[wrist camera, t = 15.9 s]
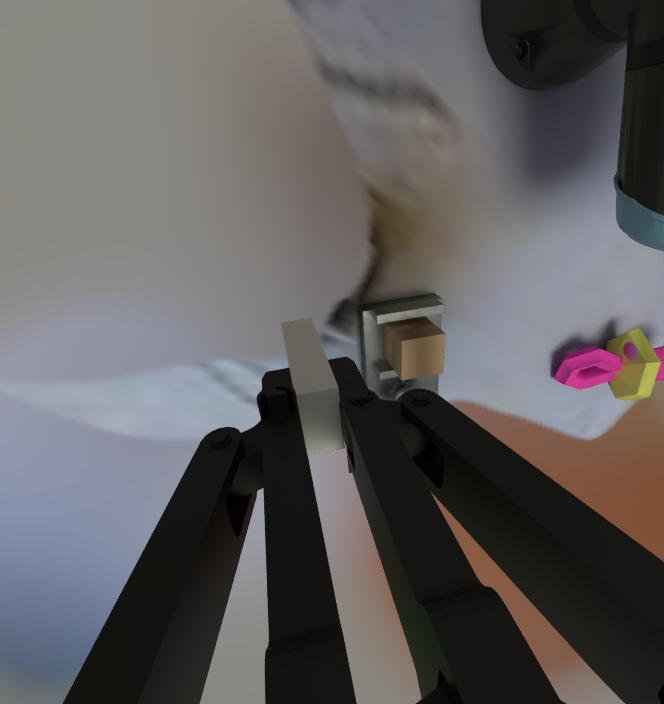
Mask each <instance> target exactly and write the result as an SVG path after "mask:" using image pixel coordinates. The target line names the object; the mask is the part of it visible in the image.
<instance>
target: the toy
mask: <svg viewBox="0 0 664 704" xmlns="http://www.w3.org/2000/svg"><path fill="white" fill-rule="evenodd" d="M592 366H593V367H592ZM589 367H590V368H589ZM586 368H587V369H586ZM583 369H584V370H583ZM580 370H581V371H580ZM554 379H555V380H557V381H559V382H561V383H562V384H565V385H568V386H571V387H574V388H578V389H585V388H588V387H591V386H595V385H598V384H601V383H605V382H608V384H609V386H610V388H611V390H612V392H613V394H614V396H615V398H617V399H620V400H624V401H626V400H633V399H640V398H647V397H650V394H651V391H652V388H653V385H654V382H655V380H659V381H664V346H662V347H658V348H654V349H653V348H652V347H651V345H650V344H649V342H648V340H647V339H646V337H645V336H644V334H643V332H642V331H641V329H640V328H637V329H635V330H632V331H630V332H627V333H625V334H623V335H620V336H618V337H616V338H613V339H611V340H609V341H608V342H607V346H606V350H603V349H600V348H598V347H595V346H590V347H587V348H584V349H581V350H579V351H576V352H573V353H570V354H567V355H565V357H564V359H563V361H562V362H561V364H560V366H559V368H558V370H557V372H556V374H555V377H554Z"/></svg>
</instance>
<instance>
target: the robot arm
mask: <svg viewBox="0 0 664 704" xmlns="http://www.w3.org/2000/svg"><path fill="white" fill-rule="evenodd" d="M482 20H483V28H484V34H485V38H486V42H487V46H488V49H489V51H490V54H491V56H492V58H493V60H494V62H495V64H496V65H497V67H498V68H499V70H500V71H501V72H502V73H503V74H504V75H505V76H506V77H507V78H508V79H509V80H510V81H512V82H513V83H515V84H517V85H518V86H521V87H523V88H527V89H531V90H545V89H550V88H554V87H558V86H561V85H565V84H568V83H571V82H573V81H576V80H578V79H580V78H581V77H583V76H585V75H587V74H588V73H590V72H591V71H593V70H594V69H595V68H597V67H598V66H599V65H601V64H602V63H603V62H605V61H606V60H607V59H609V58H610V57H611V56H613V55H614V54H615V53H616V52H618V51H619V50H620V49H622V48H623V47H624V46H626V45H627V59H626V69H625V81H624V95H623V107H622V118H621V129H620V140H619V152H618V163H617V172H616V175H615V177H614V187H615V190H616V220H617V223H618V225H619V227H620V229H621V230H622V231H623V232H625V233H626V234H627V235H628V236H629V237H630V238H631V239H632V240H634V241H636V242H638V243H640V244H642V245H645V246H648V247H651V248H654V249H657V250H661V251H664V0H482ZM281 324H282V329H283V335H284V341H285V346H286V352H287V358H288V364H289V368H285V369H280V370H274V371H269V372H266V373H265V375H264V376H263V378H262V391H261V392H260V393H259V394H258V395H257V398H256V399H257V404H258V408H259V412H260V416H261V421H260V422H259V423H258V424H257V425H255V426H254V427H253V428H251V429H249V430H247V431H244V432H242V433H240V431H239V430H238V429H236V428H233V427H224V428H219V429H216V430H214V431H212V432H210V433H209V434H207V435H206V436H205V437H204V438H203V439H202V441H201V442H200V444H199V446H198V448H197V450H196V452H195V454H194V456H193V458H192V459H191V461H190V463H189V465H188V467H187V469H186V471H185V473H184V475H183V476H182V478H181V480H180V482H179V484H178V486H177V488H176V490H175V492H174V494H173V496H172V498H171V499H170V501H169V503H168V505H167V507H166V509H165V511H164V513H163V514H162V516H161V518H160V520H159V522H158V524H157V526H156V528H155V530H154V531H153V534H152V535H151V537H150V539H149V541H148V543H147V545H146V547H145V549H144V551H143V552H142V554H141V556H140V558H139V560H138V562H137V564H136V566H135V568H134V569H133V571H132V573H131V575H130V577H129V579H128V581H127V583H126V585H125V586H124V588H123V590H122V592H121V594H120V596H119V598H118V600H117V602H116V604H115V605H114V607H113V609H112V611H111V613H110V615H109V617H108V619H107V621H106V623H105V625H104V626H103V628H102V630H101V632H100V634H99V636H98V638H97V640H96V641H95V643H94V645H93V647H92V649H91V651H90V653H89V655H88V657H87V659H86V660H85V663H84V664H83V666H82V668H81V670H80V672H79V674H78V676H77V677H76V679H75V681H74V683H73V685H72V687H71V689H70V691H69V693H68V695H67V696H66V698H65V700H64V702H63V704H199V703H200V700H201V696H202V693H203V689H204V685H205V682H206V678H207V674H208V671H209V667H210V664H211V660H212V657H213V653H214V649H215V646H216V642H217V638H218V634H219V631H220V627H221V624H222V620H223V617H224V613H225V609H226V606H227V602H228V599H229V595H230V591H231V588H232V584H233V581H234V577H235V573H236V570H237V566H238V562H239V559H240V555H241V552H242V548H243V544H244V541H245V537H246V533H247V529H248V526H249V523H250V519H251V515H252V512H253V508H254V504H255V501H256V497H257V491H258V490H260V489H262V488H264V514H265V540H266V566H267V596H268V623H269V645H268V647H267V649H266V654H265V700H266V704H357V703H356V698H355V693H354V688H353V683H352V678H351V672H350V668H349V662H348V657H347V652H346V647H345V642H344V637H343V632H342V628H341V624H340V619H339V614H338V609H337V604H336V599H335V594H334V589H333V584H332V578H331V573H330V568H329V563H328V558H327V552H326V547H325V542H324V537H323V532H322V527H321V522H320V517H319V512H318V507H317V501H316V496H315V491H314V486H313V481H312V476H311V470H310V465H309V460H308V456H310V455H314V454H320V453H324V452H329V451H334V450H338V449H342V448H345V445H344V441H345V444H346V447H347V458H348V467H349V473H353V476H354V479H355V483H356V486H357V489H358V492H359V495H360V498H361V501H362V504H363V507H364V510H365V513H366V517H367V520H368V523H369V526H370V529H371V532H372V535H373V538H374V541H375V544H376V547H377V550H378V554H379V557H380V560H381V563H382V566H383V569H384V572H385V575H386V578H387V581H388V585H389V587H390V591H391V594H392V597H393V600H394V603H395V606H396V609H397V612H398V615H399V619H400V622H401V625H402V628H403V631H404V634H405V637H406V640H407V643H408V646H409V649H410V653H411V656H412V659H413V662H414V665H415V669H416V673H417V677H418V683H419V688H420V692H421V697H422V699H421V700H420V701H419V702H418V703H416V704H566V703H564V702H563V701H561V700H560V699H559V697H558V695H557V694H556V692H555V690H554V688H553V687H552V685H551V683H550V681H549V680H548V678H547V676H546V674H545V673H544V671H543V669H542V668H541V666H540V664H539V662H538V661H537V659H536V657H535V655H534V654H533V652H532V650H531V649H530V647H529V645H528V643H527V641H526V640H525V638H524V636H523V635H522V633H521V631H520V629H519V628H518V626H517V624H516V622H515V621H514V619H513V617H512V615H511V614H510V612H509V610H508V609H507V607H506V605H505V604H504V602H503V601H502V599H501V598H500V596H499V595H498V593H497V592H496V591H495V590H494V589H493V588H491V587H487V586H483V584H482V583H481V582H480V581H479V579H478V578H477V577H476V574H475V573H474V571H473V569H472V567H471V565H470V563H469V562H468V560H467V558H466V556H465V554H464V552H463V551H462V549H461V547H460V545H459V543H458V541H457V540H456V538H455V536H454V534H453V532H452V530H451V529H450V527H449V525H448V523H447V521H446V519H445V518H444V516H443V514H442V512H441V510H440V509H439V507H438V505H437V503H436V501H435V499H434V498H433V496H432V494H431V492H432V493H433V495H435V497H436V498H437V499H438V500H439V501H440V502H441V503H442V505H443V506H444V507H445V508H446V509H447V510H448V511H449V512H450V513H451V514H452V516H453V517H454V518H455V519H456V520H457V521H458V522H459V523H460V524H461V525H462V527H463V528H464V529H465V530H466V531H467V532H468V533H469V534H470V535H471V537H472V538H473V539H474V540H475V541H476V542H477V543H478V544H479V545H480V546H481V547H482V549H483V550H484V551H485V552H486V553H487V554H488V555H489V556H490V557H491V559H492V560H493V561H494V562H495V563H496V564H497V565H498V566H499V567H500V568H501V570H502V571H503V572H504V573H505V574H506V575H507V576H508V577H509V578H510V579H511V581H512V582H513V583H514V584H515V585H516V586H517V587H518V588H519V589H520V591H521V592H522V593H523V594H524V595H525V596H526V597H527V598H528V599H529V601H530V602H531V603H532V604H533V605H534V606H535V607H536V608H537V609H538V610H539V612H540V613H541V614H542V615H543V616H544V617H545V618H546V619H547V620H548V621H549V623H550V624H551V625H552V626H553V627H554V628H555V629H556V630H557V631H558V632H559V634H560V635H561V636H562V637H563V638H564V639H565V640H566V641H567V642H568V644H569V645H570V646H571V647H572V648H573V649H574V650H575V651H576V652H577V653H578V654H579V656H581V658H582V659H583V660H584V661H585V662H586V663H587V664H588V666H589V667H590V668H591V669H592V670H593V671H594V672H595V673H596V674H597V675H598V676H599V677H600V678H601V679H602V680H603V681H604V682H605V684H606V685H607V686H608V687H609V688H610V689H611V690H612V691H613V692H614V693H615V694H616V695H617V696H618V697H619V698H620V699H621V700H622V701H623V702H624V703H626V704H664V562H663V561H662V560H660V559H659V558H658V557H656V556H655V555H654V554H652V553H651V552H649V551H648V550H647V549H646V548H644V547H643V546H642V545H640V544H639V543H637V542H636V541H635V540H633V539H632V538H631V537H629V536H628V535H627V534H625V533H624V532H623V531H621V530H620V529H619V528H617V527H616V526H614V525H613V524H612V523H610V522H609V521H608V520H606V519H605V518H604V517H602V516H601V515H599V514H598V513H597V512H596V511H594V510H593V509H592V508H590V507H589V506H587V505H586V504H585V503H583V502H582V501H581V500H579V499H578V498H577V497H575V496H574V495H573V494H571V493H570V492H569V491H567V490H566V489H565V488H563V487H562V486H560V485H559V484H558V483H556V482H555V481H554V480H552V479H551V478H550V477H548V476H547V475H545V474H544V473H543V472H542V471H540V470H539V469H537V468H536V467H535V466H533V465H532V464H531V463H529V462H528V461H526V460H525V459H524V458H523V457H521V456H520V455H519V454H517V453H516V452H515V451H513V450H512V449H510V448H509V447H508V446H506V445H505V444H504V443H502V442H501V441H500V440H498V439H497V438H495V437H494V436H493V435H492V434H490V433H489V432H488V431H486V430H485V429H484V428H482V427H481V426H479V425H478V424H477V423H475V422H474V421H473V420H471V419H470V418H469V417H467V416H466V415H465V414H463V413H462V412H461V411H459V410H458V409H456V408H455V407H454V406H452V405H451V404H450V403H448V402H447V401H446V400H444V399H443V398H442V397H440V396H439V395H438V394H436V393H434V392H433V391H431V390H427V389H412V390H408V391H406V392H405V393H404V394H403V395H402V396H401V401H391V400H383V399H379V397H378V395H377V394H376V393H375V392H374V391H371V390H369V389H368V387H367V385H366V383H365V381H364V379H363V377H362V376H361V374H360V372H359V370H358V369H357V366H356V364H355V362H354V361H353V360H351V359H350V358H348V357H342V358H336V359H330V360H327V357H326V354H325V352H324V349H323V347H322V344H321V342H320V339H319V337H318V334H317V332H316V329H315V326H314V324H313V321H312V319H311V318H308V319H302V320H295V321H289V322H283V323H281ZM430 491H431V492H430Z"/></svg>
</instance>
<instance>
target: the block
mask: <svg viewBox="0 0 664 704" xmlns="http://www.w3.org/2000/svg"><path fill="white" fill-rule="evenodd" d="M445 335H446V334H445V333H444V332H443V331H442V330H441V329H440V328H438V327H437V326H436V325H435V324H434V323H433V322H431V321H430V320H429V319H428V318H427V317H425V316H422V317H416V318H410V319H404V320H398V321H392V322H386V323H384V346H385V358H386V359H387V361H388V362H389V363H390V365H391V366H392V368H393V369H394V371H395V372H396V373H397V375H398V376H399V378H400V379H401V380H408V379H413V378H419V377H424V376H430V375H435V374H441V373H443V366H444V351H445Z"/></svg>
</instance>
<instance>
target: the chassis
mask: <svg viewBox="0 0 664 704" xmlns="http://www.w3.org/2000/svg"><path fill="white" fill-rule="evenodd" d="M442 313H444V304H442V298H441V297H439V296H438V295H436V294H430V295H424V296H418V297H411V298H405V299H399V300H393V301H387V302H381V303H375V304H368V305H362V306H359V319H360V335H361V350H362V365H363V379H364V381H365V383H366V385H367V387H368V389H369V390H371V391H374V392H375V393H376V394H377V395H378V397H379V399H383V400H391V401H396V400H397V399H398V398H399V397H400V396H401V395H402V394H404V393H405V392H406V391H408V390H412V389H427V390H431V391H433V392H434V393H436V394H438V377H439V374H435V375H430V376H424V377H419V378H413V379H408V380H401V379H400V378H399V376H398V375H397V373H396V372H395V371H394V369H393V368H392V366H391V365H390V363H389V362H388V361H387V359H386V358H385V346H384V323H386V322H392V321H398V320H404V319H410V318H416V317H422V316H425V317H427V318H428V319H429V320H430V321H431V322H433V323H434V324H435V325H436V326H437V327H438V328H440V329H441V314H442Z"/></svg>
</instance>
